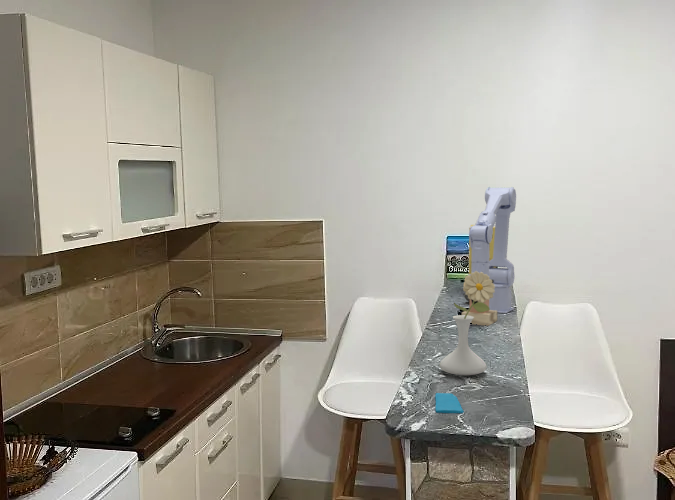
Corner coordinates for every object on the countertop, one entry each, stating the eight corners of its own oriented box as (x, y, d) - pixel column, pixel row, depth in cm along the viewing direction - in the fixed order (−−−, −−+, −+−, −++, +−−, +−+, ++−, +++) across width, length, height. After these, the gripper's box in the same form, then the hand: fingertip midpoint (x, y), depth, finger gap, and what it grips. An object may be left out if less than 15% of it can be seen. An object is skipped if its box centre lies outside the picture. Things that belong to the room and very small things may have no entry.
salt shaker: (462, 304, 267) (462, 273, 266) (464, 302, 273) (464, 271, 272) (478, 305, 265) (478, 273, 264) (479, 302, 271) (480, 271, 270)
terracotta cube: (474, 309, 237) (474, 294, 237) (489, 310, 235) (489, 296, 234) (469, 312, 233) (469, 297, 232) (484, 313, 230) (484, 298, 230)
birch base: (471, 318, 240) (471, 308, 240) (497, 320, 236) (497, 310, 235) (461, 323, 233) (461, 312, 232) (488, 325, 228) (488, 315, 228)
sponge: (462, 394, 154) (435, 390, 155) (464, 411, 142) (435, 407, 143) (461, 400, 154) (434, 396, 155) (463, 419, 142) (434, 414, 143)
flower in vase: (439, 378, 168) (440, 273, 165) (439, 366, 179) (439, 267, 177) (495, 380, 166) (497, 274, 164) (491, 367, 177) (493, 268, 175)
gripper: (476, 259, 240) (476, 298, 242) (460, 263, 228) (460, 305, 229) (496, 260, 237) (496, 300, 238) (481, 264, 224) (481, 307, 226)
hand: (479, 302), depth 233 cm, fingers open, 7 cm apart
